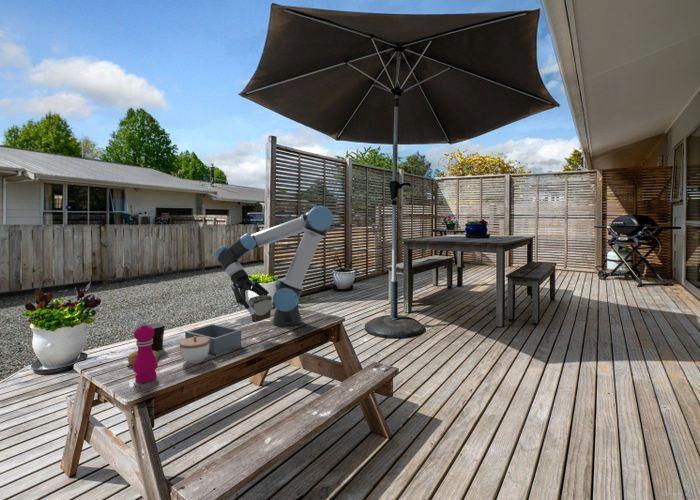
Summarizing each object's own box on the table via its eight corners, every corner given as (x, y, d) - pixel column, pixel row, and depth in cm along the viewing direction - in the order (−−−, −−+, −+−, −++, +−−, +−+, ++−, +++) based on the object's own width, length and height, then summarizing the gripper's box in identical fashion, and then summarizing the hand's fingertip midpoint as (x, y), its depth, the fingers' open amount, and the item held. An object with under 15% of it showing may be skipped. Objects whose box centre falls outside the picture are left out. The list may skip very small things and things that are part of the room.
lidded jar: (175, 361, 139) (174, 337, 139) (201, 353, 148) (201, 330, 147) (188, 368, 133) (187, 343, 132) (215, 359, 141) (215, 336, 140)
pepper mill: (128, 381, 121) (126, 322, 120) (147, 373, 128) (145, 317, 127) (144, 385, 119) (142, 325, 117) (162, 376, 126) (160, 319, 124)
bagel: (165, 360, 140) (164, 348, 140) (135, 370, 131) (134, 357, 131) (152, 355, 146) (152, 343, 146) (122, 363, 137) (122, 351, 137)
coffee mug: (155, 353, 147) (154, 329, 146) (137, 351, 149) (136, 327, 148) (174, 344, 159) (174, 321, 158) (157, 342, 160) (156, 320, 159)
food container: (262, 315, 172) (262, 294, 171) (272, 316, 169) (272, 295, 168) (243, 321, 161) (242, 299, 161) (253, 323, 158) (252, 300, 157)
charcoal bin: (213, 339, 166) (212, 323, 165) (241, 345, 157) (241, 330, 156) (185, 348, 153) (185, 331, 153) (214, 356, 144) (214, 339, 144)
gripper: (251, 276, 182) (276, 310, 175) (213, 283, 162) (239, 321, 155) (259, 266, 179) (284, 300, 172) (220, 272, 158) (247, 311, 152)
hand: (262, 310), depth 164 cm, fingers closed on food container, 11 cm apart
